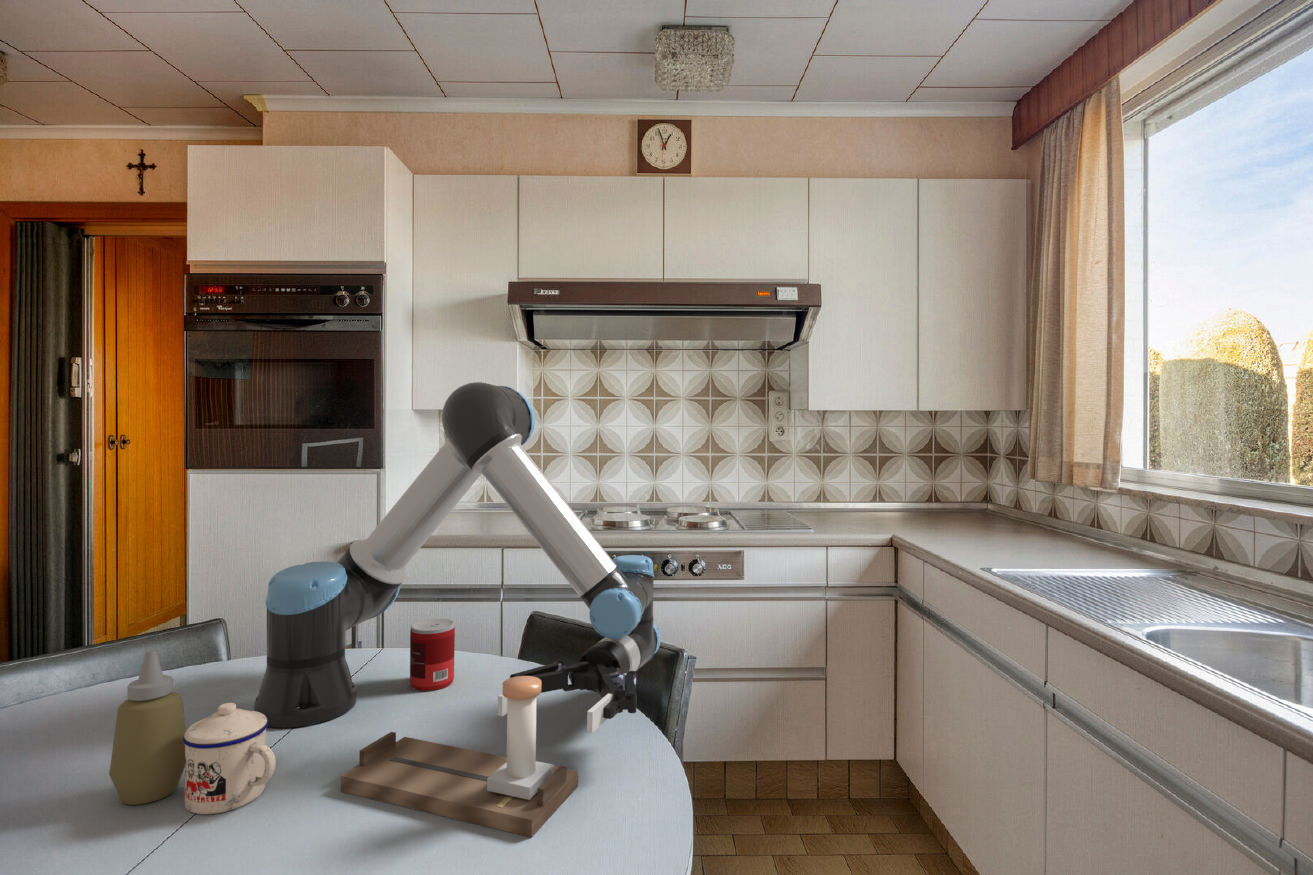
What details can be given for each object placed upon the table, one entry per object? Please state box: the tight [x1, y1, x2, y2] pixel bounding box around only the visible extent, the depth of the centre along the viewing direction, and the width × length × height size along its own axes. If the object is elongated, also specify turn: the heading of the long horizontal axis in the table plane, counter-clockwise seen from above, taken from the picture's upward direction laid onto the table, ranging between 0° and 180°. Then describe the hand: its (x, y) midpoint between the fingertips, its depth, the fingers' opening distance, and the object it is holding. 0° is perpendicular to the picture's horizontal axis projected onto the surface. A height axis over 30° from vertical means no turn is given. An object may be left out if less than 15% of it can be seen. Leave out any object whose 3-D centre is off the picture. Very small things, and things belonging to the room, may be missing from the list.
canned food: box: [409, 618, 456, 692], centre depth 124 cm, size 8×8×11 cm
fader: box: [487, 676, 555, 800], centre depth 85 cm, size 6×6×13 cm
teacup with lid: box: [183, 702, 277, 815], centre depth 85 cm, size 12×9×12 cm
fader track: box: [340, 731, 579, 838], centre depth 88 cm, size 28×12×4 cm, turn 71°
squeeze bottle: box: [108, 651, 187, 806], centre depth 86 cm, size 8×8×18 cm
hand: (543, 714), depth 90 cm, fingers open, 13 cm apart
